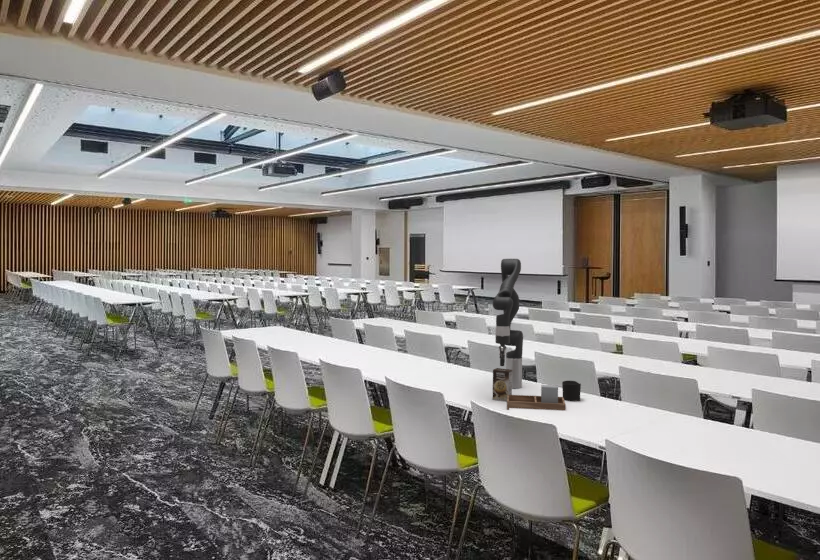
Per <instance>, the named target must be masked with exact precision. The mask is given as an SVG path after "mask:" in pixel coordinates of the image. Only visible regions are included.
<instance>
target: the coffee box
mask: <svg viewBox="0 0 820 560" xmlns="http://www.w3.org/2000/svg"><path fill="white" fill-rule="evenodd" d="M507 395H513V388H512V370H510V369H506V368H498V367H496V368H494V369H493V370H492V400H494V399H495V401H501V402H502V401H503V402H507Z"/></svg>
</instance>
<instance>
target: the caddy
mask: <svg viewBox="0 0 820 560" xmlns="http://www.w3.org/2000/svg"><path fill="white" fill-rule="evenodd" d="M566 408H567V407H566V402H565V400H564V398H563V396H558V404H557V403H541V395H523V394H521V395H520V394H512V395H507V401H506V410H508V411H509V410H510V409H525V410H527V409H528V410H550V411H552V410H553V411H566Z"/></svg>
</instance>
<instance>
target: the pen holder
mask: <svg viewBox="0 0 820 560" xmlns="http://www.w3.org/2000/svg"><path fill="white" fill-rule="evenodd" d="M561 382H562V383H561V385H562V397H563V398H564V401H566V402H579V401H581V388H582V384H581V383H579V382H578V381H576V380H564V381H561Z"/></svg>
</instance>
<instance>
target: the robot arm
mask: <svg viewBox="0 0 820 560" xmlns="http://www.w3.org/2000/svg"><path fill="white" fill-rule="evenodd" d="M521 271H522V263H521V260H520V258H503V259H501V262H500V273H501V281H502V282H501V284H500V287H499V290H498V293H497V294H496V295H495V297H494V298H493V300H492V307H493V309H494V310H496V311H502V312H503V313H502V314H498V315H496V317H495V344H499V345H498V355H499V367H505V369H510V370H512V389H522V388H523V345H524V334H523V331H522V330H520V329H519V330H517V329H516V330H515V329H511V325H512V322H513V321H514V318H515V317H516V315H517V313H518V312H519V309H520V297H519V294H518V292H516V289H514V287H515V284H516V283H517V280H518V278H519V276H520V274H521ZM508 346H509V347H515V348H514V349H513V350H510V351H507V347H508Z"/></svg>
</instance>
